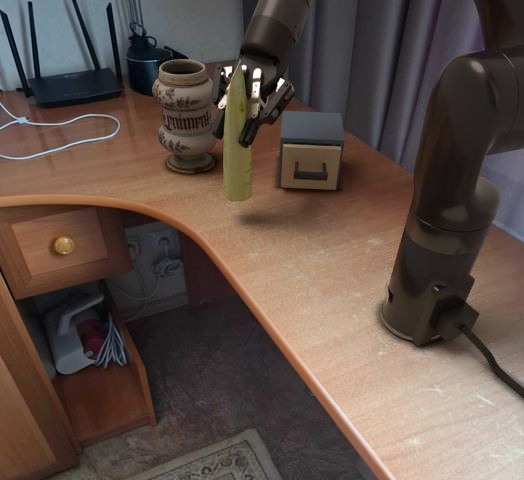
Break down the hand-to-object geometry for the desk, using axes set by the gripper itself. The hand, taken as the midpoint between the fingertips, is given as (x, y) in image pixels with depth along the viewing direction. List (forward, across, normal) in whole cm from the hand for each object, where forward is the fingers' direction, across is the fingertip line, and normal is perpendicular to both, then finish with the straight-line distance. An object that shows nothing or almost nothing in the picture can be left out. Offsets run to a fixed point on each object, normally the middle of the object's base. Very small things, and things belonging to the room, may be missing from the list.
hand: (229, 140), depth 72 cm
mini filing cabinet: (-7, +1, +27) cm, 28 cm away
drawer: (-4, +4, +24) cm, 24 cm away
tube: (+6, 0, +9) cm, 10 cm away
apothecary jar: (+1, -21, +20) cm, 29 cm away
